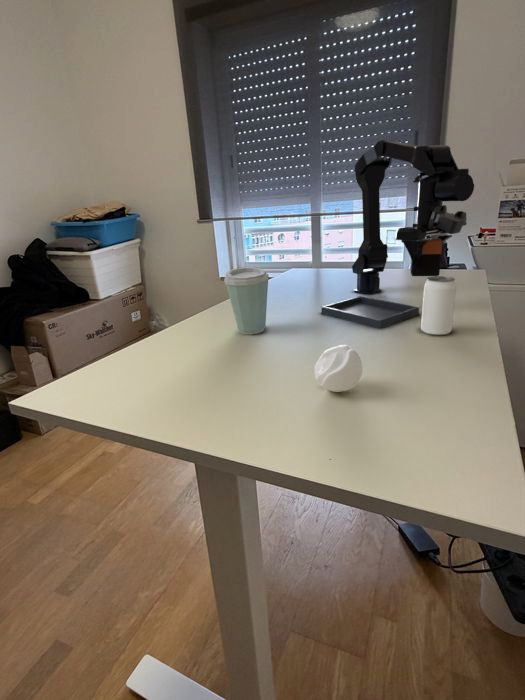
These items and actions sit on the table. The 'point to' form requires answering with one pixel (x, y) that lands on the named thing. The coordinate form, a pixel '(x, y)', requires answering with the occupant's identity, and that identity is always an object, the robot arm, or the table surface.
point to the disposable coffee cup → (248, 298)
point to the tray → (370, 311)
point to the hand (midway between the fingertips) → (424, 265)
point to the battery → (429, 258)
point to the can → (438, 305)
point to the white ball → (338, 368)
